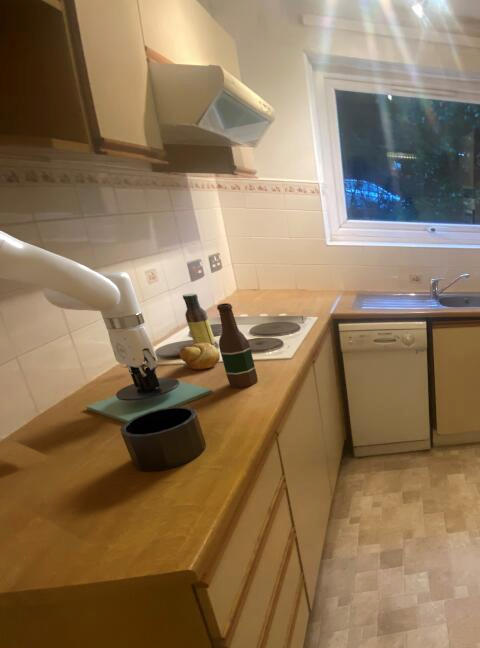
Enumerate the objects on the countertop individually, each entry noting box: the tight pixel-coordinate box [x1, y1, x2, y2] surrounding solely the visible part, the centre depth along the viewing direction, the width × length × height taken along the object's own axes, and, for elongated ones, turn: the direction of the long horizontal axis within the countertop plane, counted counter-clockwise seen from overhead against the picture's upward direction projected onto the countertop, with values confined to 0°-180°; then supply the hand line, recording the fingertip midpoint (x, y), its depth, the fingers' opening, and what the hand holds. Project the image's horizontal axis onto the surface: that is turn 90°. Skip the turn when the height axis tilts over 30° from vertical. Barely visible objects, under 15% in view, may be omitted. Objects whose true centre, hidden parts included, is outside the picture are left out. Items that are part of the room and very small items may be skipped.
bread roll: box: [178, 343, 221, 370], centre depth 141 cm, size 13×10×8 cm
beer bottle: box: [216, 302, 259, 389], centre depth 124 cm, size 8×8×24 cm
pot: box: [119, 406, 207, 473], centre depth 93 cm, size 13×13×8 cm
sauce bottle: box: [182, 292, 217, 347], centre depth 152 cm, size 6×6×20 cm
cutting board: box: [85, 380, 214, 424], centre depth 118 cm, size 20×20×1 cm
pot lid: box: [115, 371, 180, 401], centre depth 116 cm, size 13×13×6 cm
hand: (147, 386), depth 116 cm, fingers closed on pot lid, 3 cm apart
